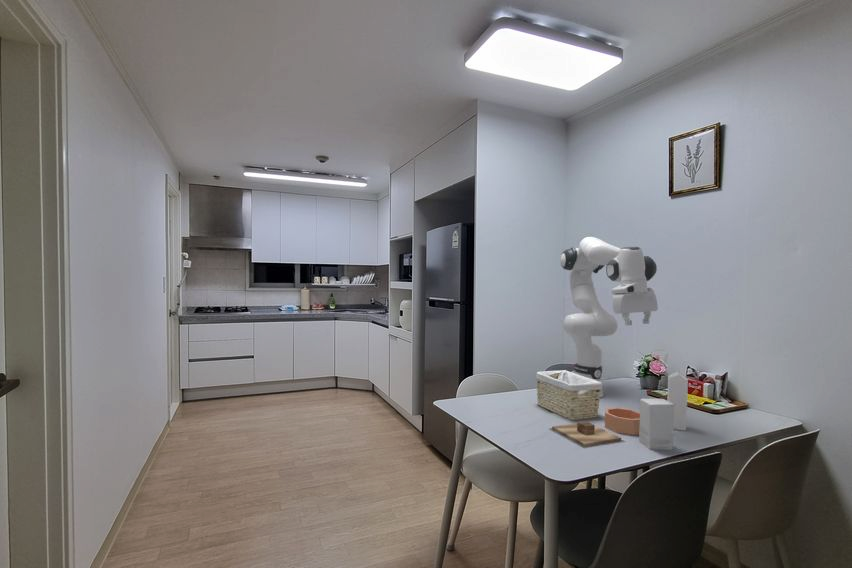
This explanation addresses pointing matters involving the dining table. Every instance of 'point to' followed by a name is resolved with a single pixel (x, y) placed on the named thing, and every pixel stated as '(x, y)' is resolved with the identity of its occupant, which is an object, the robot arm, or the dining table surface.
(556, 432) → the rubber mat
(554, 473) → the dining table surface
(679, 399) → the milk
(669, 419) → the skincare box
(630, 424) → the terracotta bowl
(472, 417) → the dining table surface
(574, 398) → the storage basket
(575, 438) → the oak lid
